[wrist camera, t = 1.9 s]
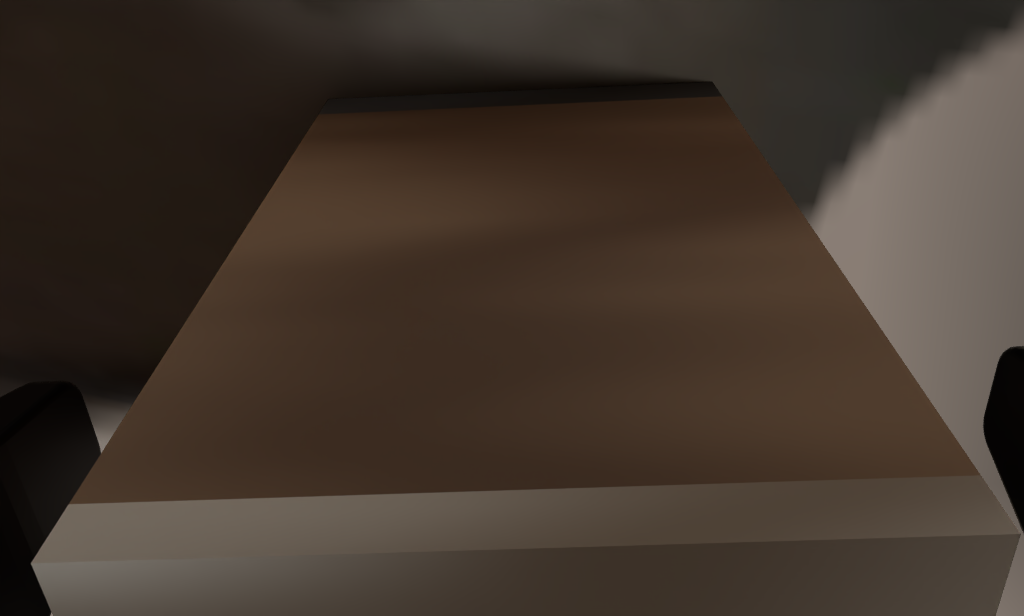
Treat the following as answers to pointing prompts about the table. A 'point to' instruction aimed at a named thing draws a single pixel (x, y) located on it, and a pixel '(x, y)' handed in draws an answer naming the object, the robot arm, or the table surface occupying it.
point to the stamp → (530, 392)
